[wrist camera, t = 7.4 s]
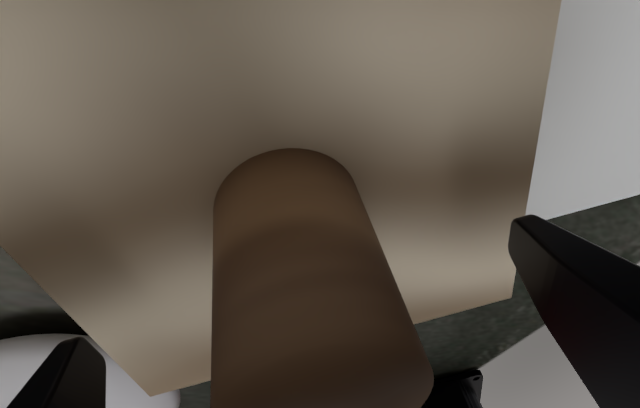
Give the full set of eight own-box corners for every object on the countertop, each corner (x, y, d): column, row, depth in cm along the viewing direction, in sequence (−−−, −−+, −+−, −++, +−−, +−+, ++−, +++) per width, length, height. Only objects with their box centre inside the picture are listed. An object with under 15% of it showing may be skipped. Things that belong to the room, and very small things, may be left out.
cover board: (497, 276, 16) (611, 448, 11) (153, 370, 16) (126, 585, 11) (557, -202, 7) (1116, -296, 3) (-190, -12, 7) (-919, 229, 3)
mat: (725, 163, 22) (734, 168, 21) (442, 239, 22) (446, 246, 21) (952, -263, 12) (976, -267, 12) (441, -133, 12) (449, -133, 11)
